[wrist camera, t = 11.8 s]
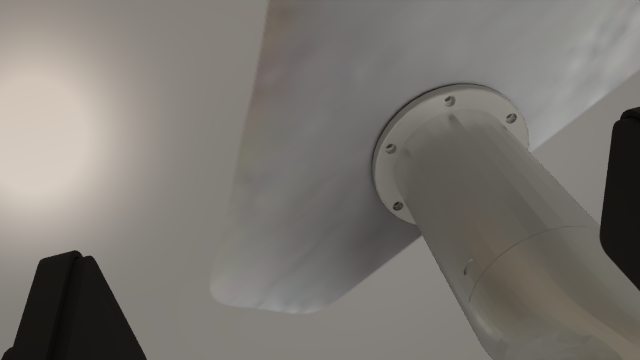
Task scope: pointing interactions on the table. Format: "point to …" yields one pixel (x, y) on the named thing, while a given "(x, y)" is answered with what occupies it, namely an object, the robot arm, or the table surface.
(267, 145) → the table surface
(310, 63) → the table surface
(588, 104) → the table surface
